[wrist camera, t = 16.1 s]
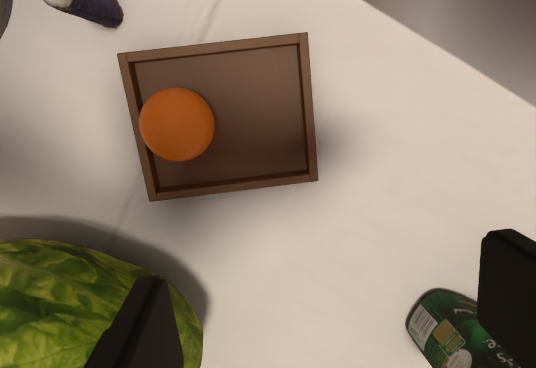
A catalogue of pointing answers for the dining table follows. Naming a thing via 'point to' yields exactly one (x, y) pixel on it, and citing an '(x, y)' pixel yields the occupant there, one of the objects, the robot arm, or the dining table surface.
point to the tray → (231, 113)
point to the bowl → (4, 14)
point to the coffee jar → (454, 334)
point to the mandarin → (176, 124)
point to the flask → (91, 10)
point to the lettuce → (70, 304)
